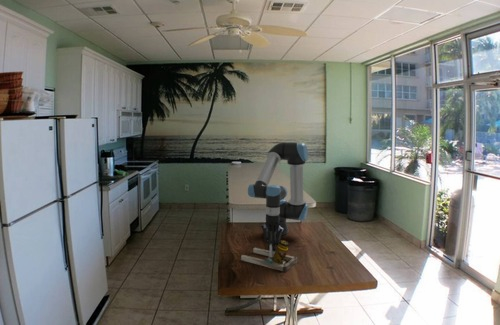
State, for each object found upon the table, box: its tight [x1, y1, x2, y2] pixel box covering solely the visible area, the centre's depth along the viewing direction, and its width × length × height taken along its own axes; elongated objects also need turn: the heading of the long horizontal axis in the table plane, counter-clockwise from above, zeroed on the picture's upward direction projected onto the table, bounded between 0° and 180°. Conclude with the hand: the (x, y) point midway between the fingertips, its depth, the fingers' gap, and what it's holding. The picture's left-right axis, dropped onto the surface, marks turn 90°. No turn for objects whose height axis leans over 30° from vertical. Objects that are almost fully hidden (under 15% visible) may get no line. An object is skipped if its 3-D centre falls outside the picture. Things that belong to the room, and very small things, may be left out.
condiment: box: [266, 239, 290, 265], centre depth 172 cm, size 7×8×12 cm
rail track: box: [240, 247, 298, 273], centre depth 176 cm, size 15×27×3 cm, turn 59°
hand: (271, 256), depth 174 cm, fingers closed
